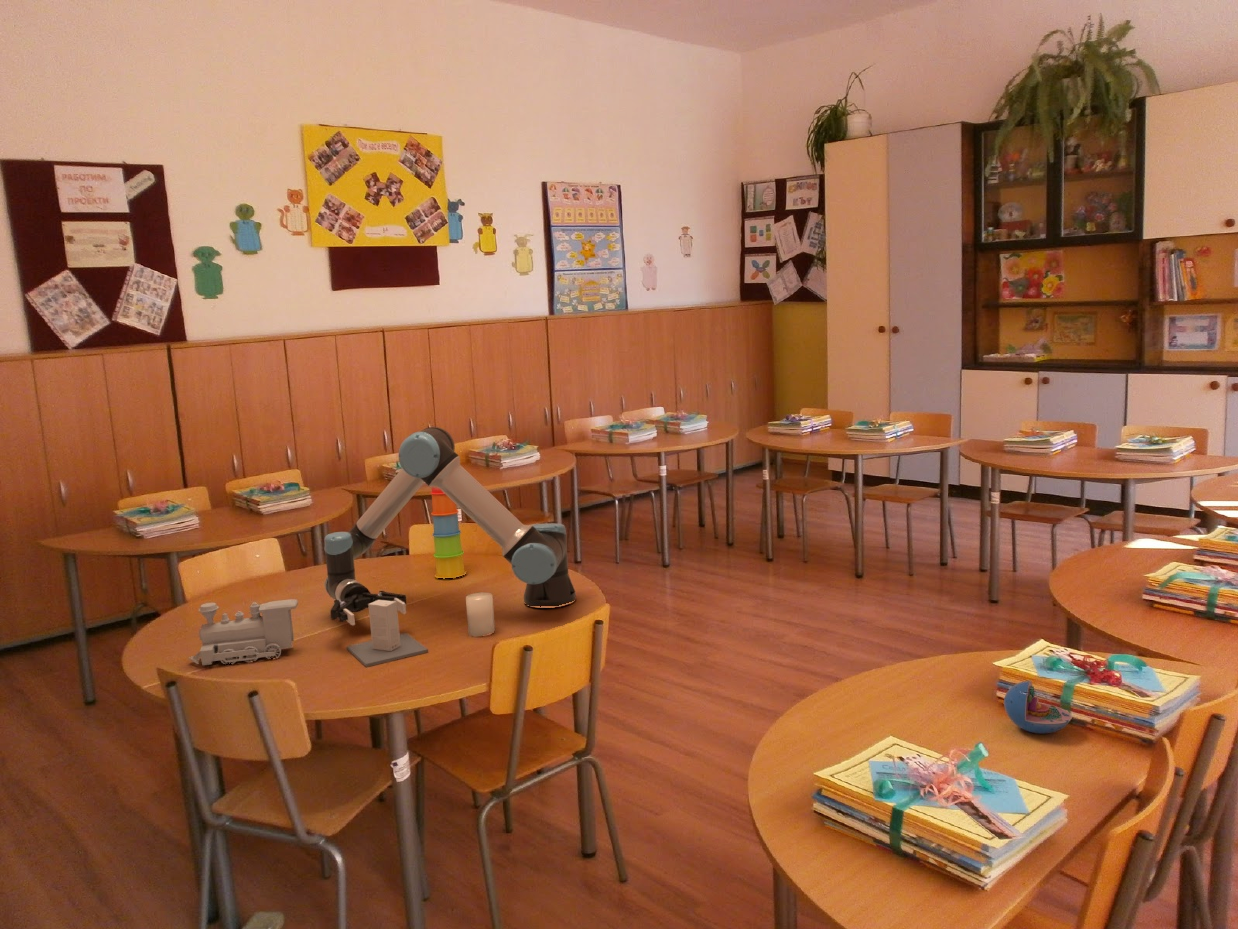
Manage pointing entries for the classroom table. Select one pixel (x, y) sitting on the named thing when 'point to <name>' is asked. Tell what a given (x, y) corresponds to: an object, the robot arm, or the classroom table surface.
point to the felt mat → (376, 656)
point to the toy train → (246, 633)
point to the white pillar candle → (480, 614)
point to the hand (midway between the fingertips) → (379, 614)
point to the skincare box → (384, 625)
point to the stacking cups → (446, 536)
